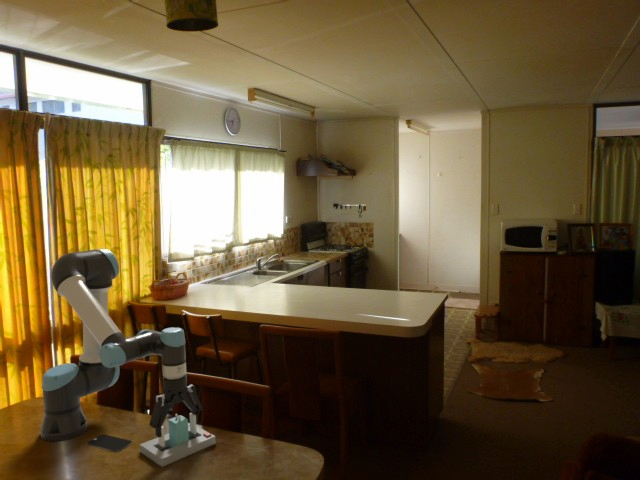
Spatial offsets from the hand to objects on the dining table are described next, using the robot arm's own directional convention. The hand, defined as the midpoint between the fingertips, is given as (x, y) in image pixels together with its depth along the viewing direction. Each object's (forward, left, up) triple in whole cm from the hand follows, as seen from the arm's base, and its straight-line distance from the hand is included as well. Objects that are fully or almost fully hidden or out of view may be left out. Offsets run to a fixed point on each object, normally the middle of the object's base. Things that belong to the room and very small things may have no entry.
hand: (178, 438), depth 176 cm
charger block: (+1, 0, -3) cm, 3 cm away
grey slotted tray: (0, 0, -3) cm, 3 cm away
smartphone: (-21, -14, -4) cm, 26 cm away
